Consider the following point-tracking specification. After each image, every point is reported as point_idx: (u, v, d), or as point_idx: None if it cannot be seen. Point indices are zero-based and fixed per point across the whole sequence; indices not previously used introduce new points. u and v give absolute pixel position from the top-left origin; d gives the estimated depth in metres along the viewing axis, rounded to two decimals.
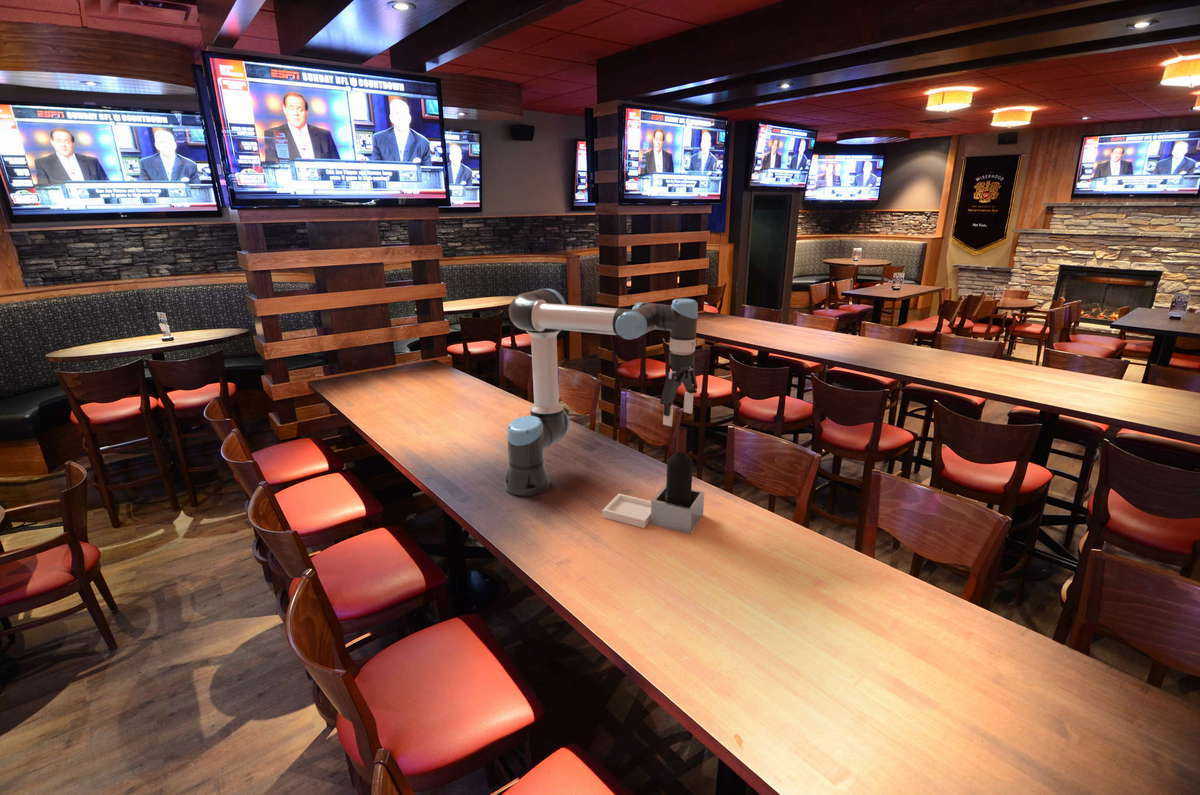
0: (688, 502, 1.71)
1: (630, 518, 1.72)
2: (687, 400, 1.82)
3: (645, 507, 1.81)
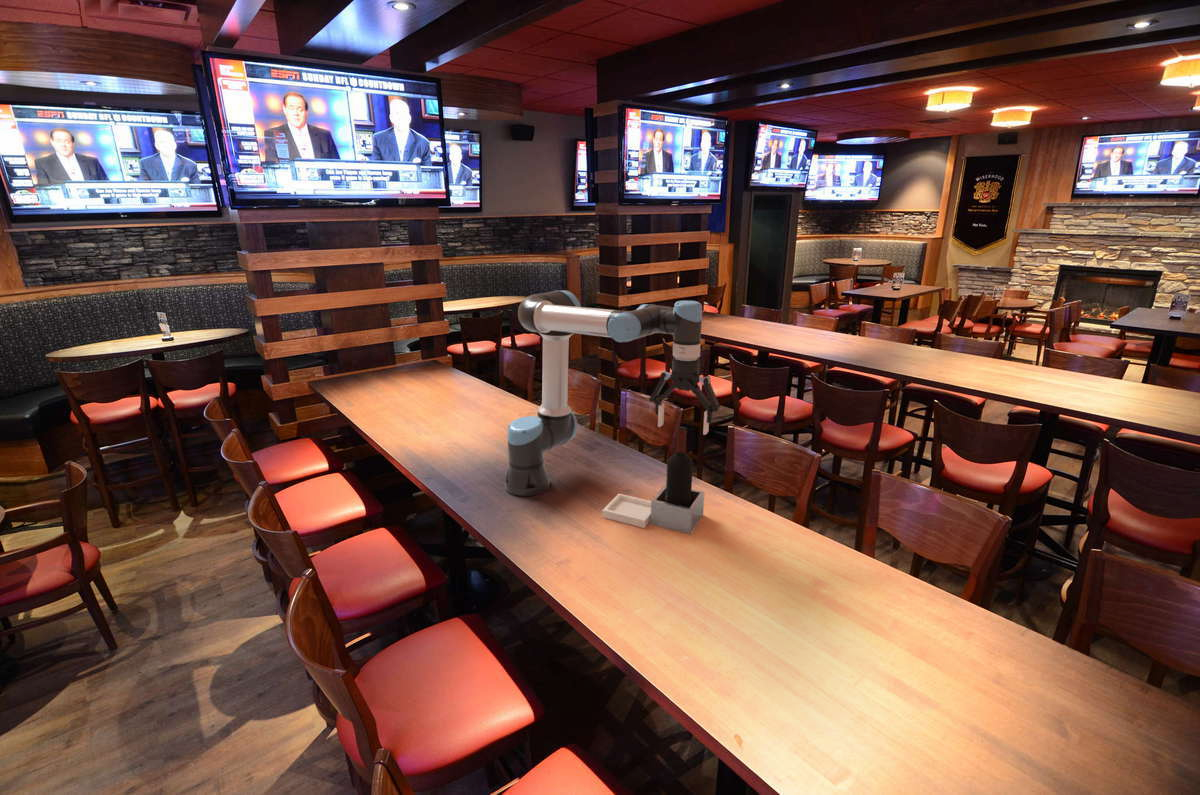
0: (688, 502, 1.71)
1: (630, 518, 1.72)
2: None
3: (645, 507, 1.81)
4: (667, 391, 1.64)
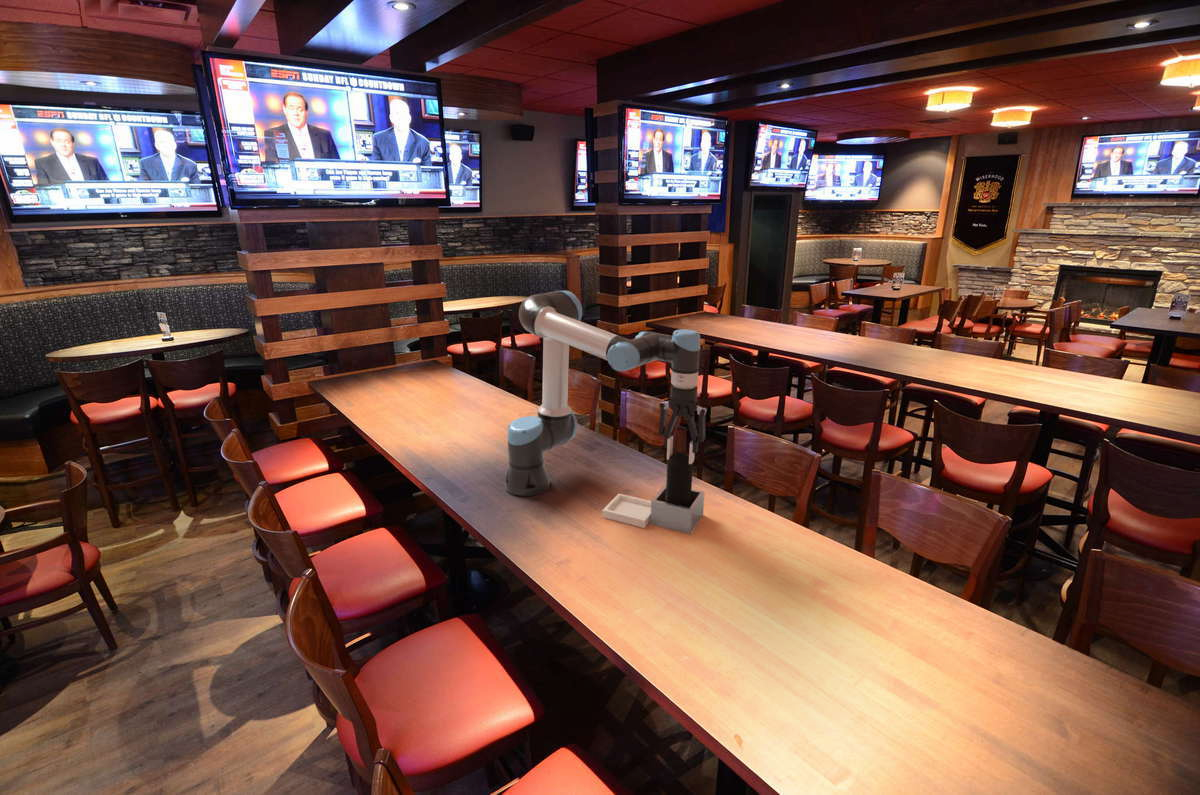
0: (688, 502, 1.71)
1: (630, 518, 1.72)
2: None
3: (645, 507, 1.81)
4: (671, 421, 1.66)
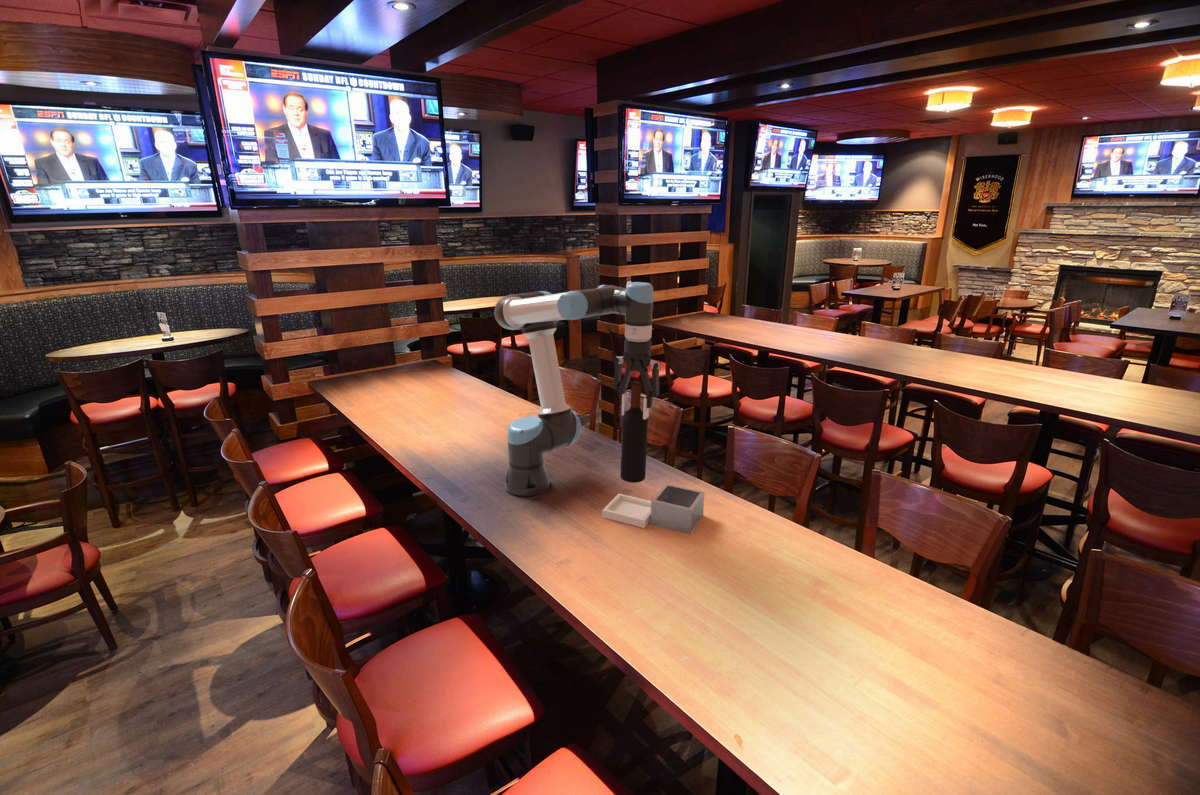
0: (643, 458, 1.71)
1: (630, 518, 1.72)
2: None
3: (645, 507, 1.81)
4: (625, 376, 1.65)
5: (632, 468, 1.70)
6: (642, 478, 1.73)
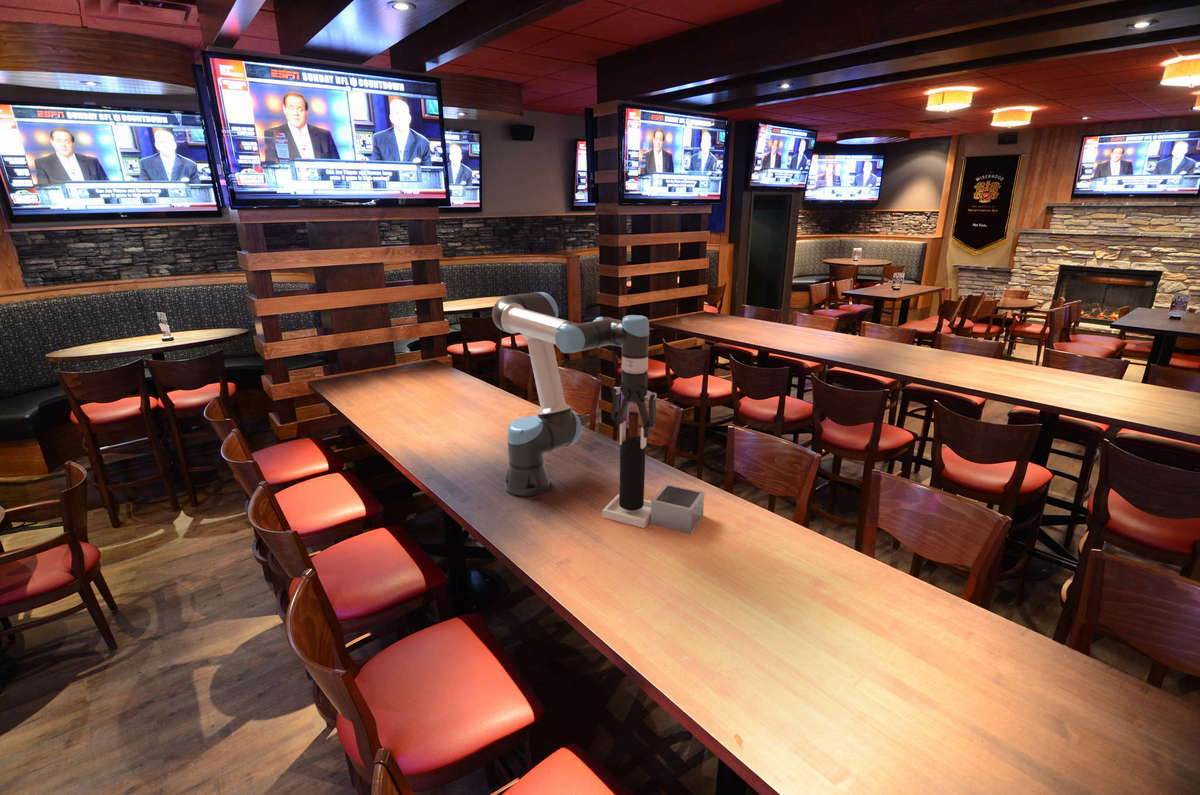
0: (641, 486, 1.73)
1: (630, 518, 1.72)
2: None
3: (645, 507, 1.81)
4: (622, 406, 1.68)
5: (630, 496, 1.73)
6: (640, 506, 1.75)
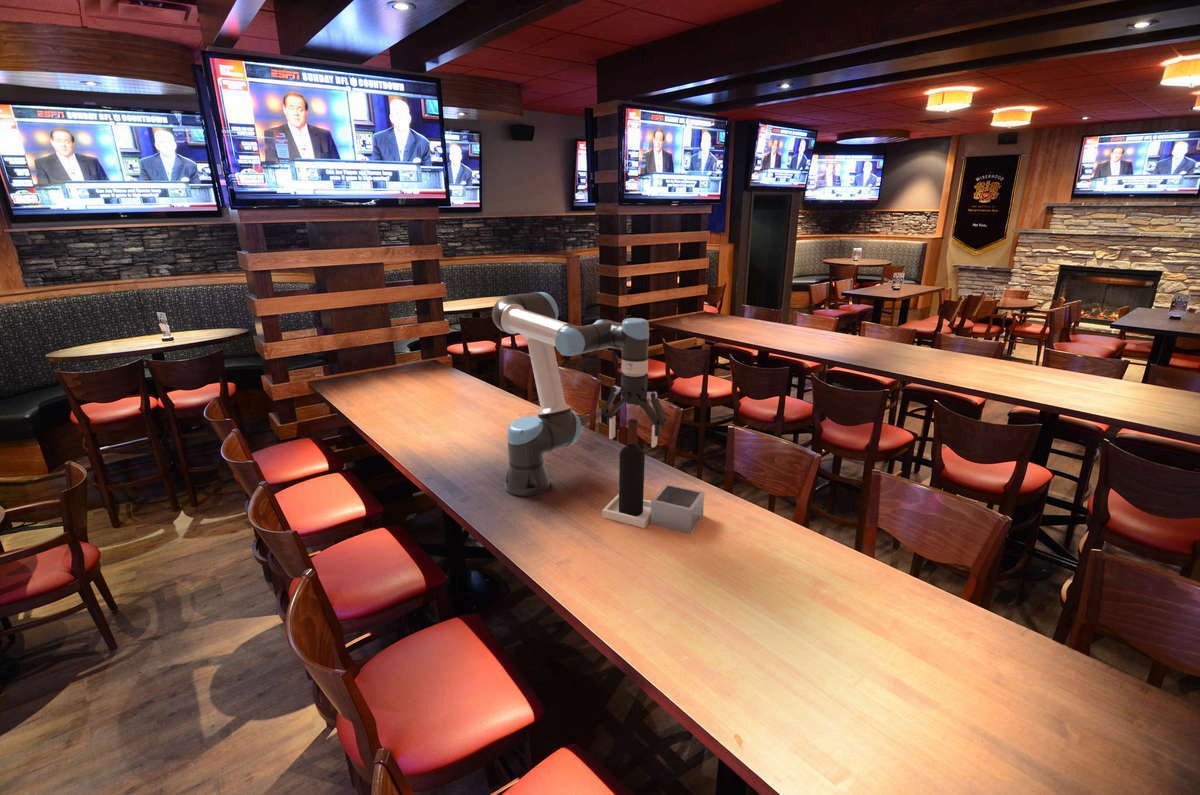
0: (640, 493, 1.74)
1: (630, 518, 1.72)
2: None
3: (645, 507, 1.81)
4: (617, 405, 1.69)
5: (630, 503, 1.74)
6: (640, 512, 1.76)
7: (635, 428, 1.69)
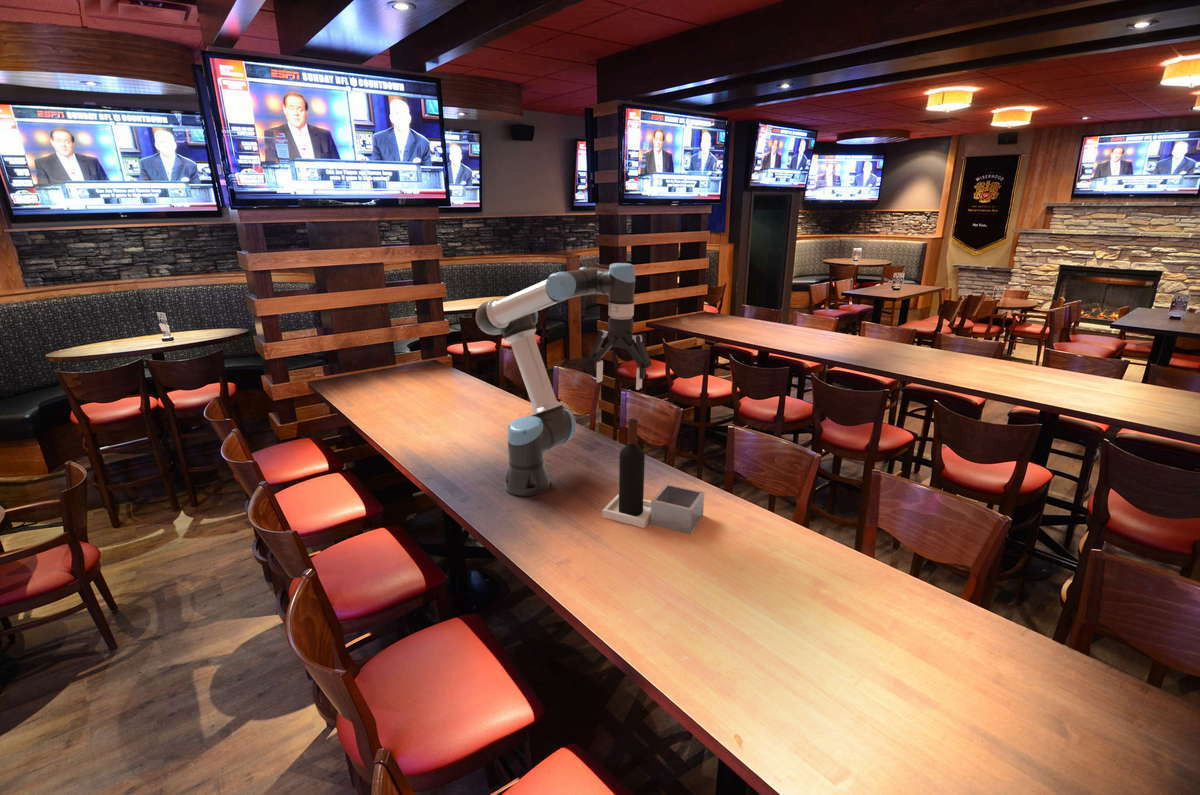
0: (640, 493, 1.74)
1: (630, 518, 1.72)
2: None
3: (645, 507, 1.81)
4: (604, 348, 1.75)
5: (630, 503, 1.74)
6: (640, 512, 1.76)
7: (635, 428, 1.69)
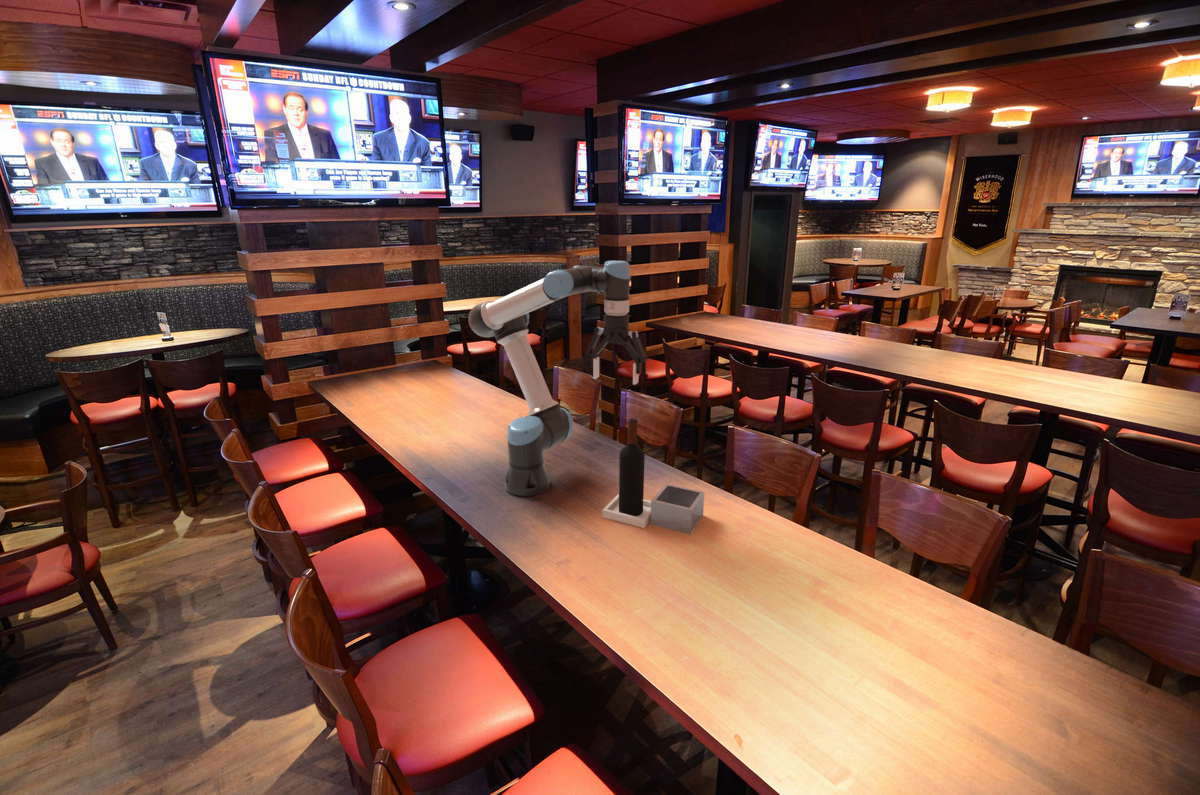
0: (640, 493, 1.74)
1: (630, 518, 1.72)
2: None
3: (645, 507, 1.81)
4: (600, 345, 1.78)
5: (630, 503, 1.74)
6: (640, 512, 1.76)
7: (635, 428, 1.69)
